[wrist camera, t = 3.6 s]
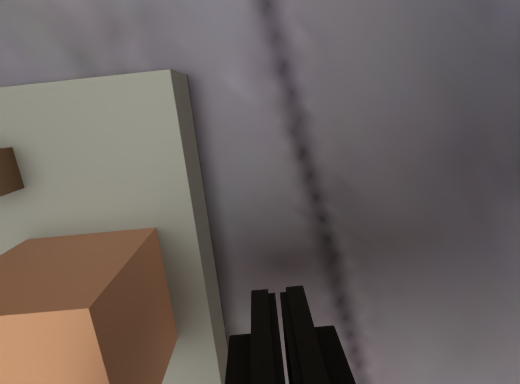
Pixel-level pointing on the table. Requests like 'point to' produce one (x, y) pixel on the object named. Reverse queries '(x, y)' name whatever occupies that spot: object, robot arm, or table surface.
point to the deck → (121, 189)
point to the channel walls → (9, 172)
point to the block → (85, 310)
